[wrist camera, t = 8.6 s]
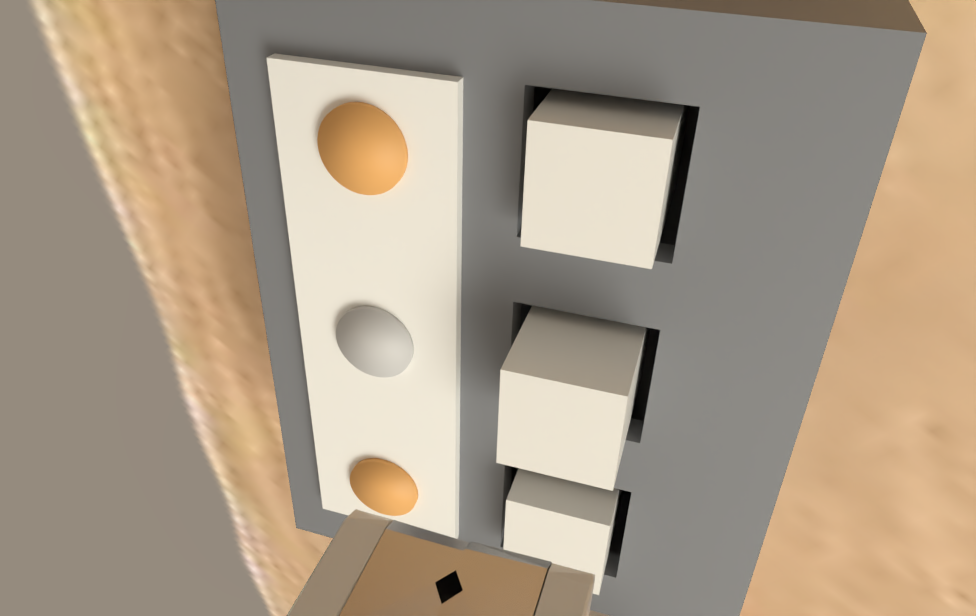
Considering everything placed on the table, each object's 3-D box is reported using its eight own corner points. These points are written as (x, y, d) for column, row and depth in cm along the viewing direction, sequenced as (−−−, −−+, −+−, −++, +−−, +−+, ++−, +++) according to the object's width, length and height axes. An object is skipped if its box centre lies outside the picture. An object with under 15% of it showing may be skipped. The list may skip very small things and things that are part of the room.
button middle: (548, 272, 24) (500, 369, 20) (655, 292, 23) (627, 396, 19) (541, 357, 26) (496, 462, 22) (640, 378, 25) (613, 490, 21)
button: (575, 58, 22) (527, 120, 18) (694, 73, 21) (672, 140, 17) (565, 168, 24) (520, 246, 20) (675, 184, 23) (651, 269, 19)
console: (324, -72, 24) (194, -33, 19) (893, -25, 20) (930, 41, 15) (363, 426, 35) (288, 539, 30) (737, 517, 31) (727, 664, 26)
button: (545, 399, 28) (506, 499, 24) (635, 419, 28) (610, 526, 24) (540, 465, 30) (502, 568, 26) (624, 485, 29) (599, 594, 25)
